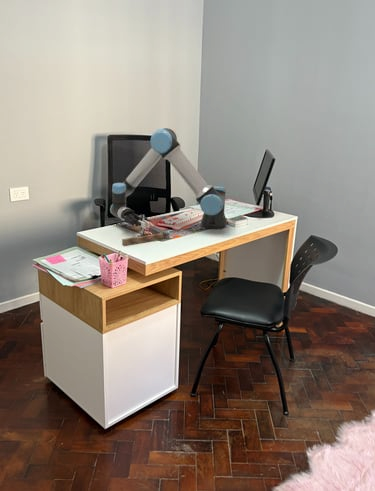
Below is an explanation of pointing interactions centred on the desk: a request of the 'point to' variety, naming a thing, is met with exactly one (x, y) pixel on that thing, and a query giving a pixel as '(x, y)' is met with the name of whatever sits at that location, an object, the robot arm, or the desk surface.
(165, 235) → the guide track
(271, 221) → the desk surface
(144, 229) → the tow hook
